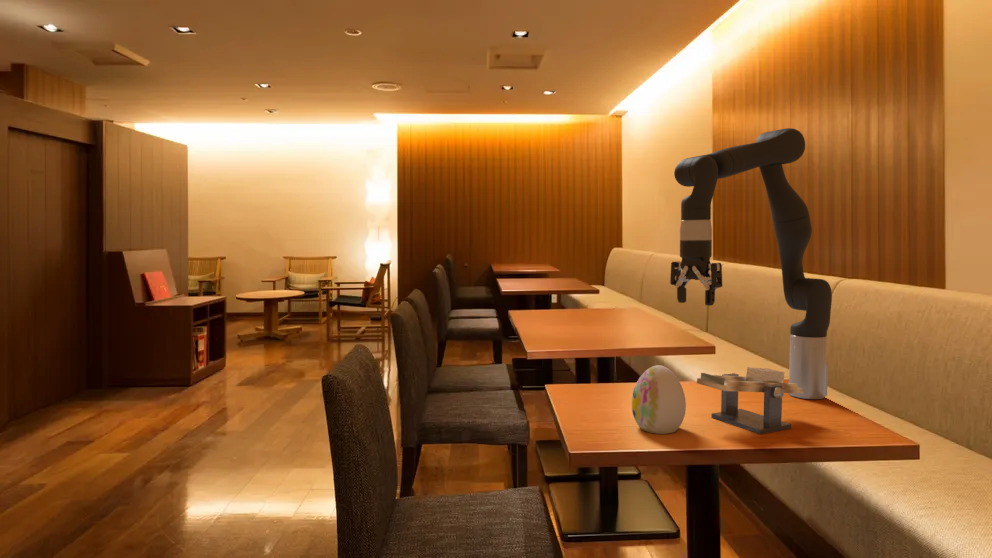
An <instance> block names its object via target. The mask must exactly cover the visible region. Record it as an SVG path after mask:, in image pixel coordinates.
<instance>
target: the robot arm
mask: <svg viewBox="0 0 992 558" xmlns="http://www.w3.org/2000/svg"><path fill="white" fill-rule="evenodd" d="M805 150H806V140H805V137H804V134H803V133H801V131H799V130H798V129H796V128H791V127H788V128H781V129H777V130H776V129H775V130H771V131H766V132H762V133H761V134H760V135H758V136H757V137H756V141H755V142H751V143H747V144H746V143H744V144H739V145H735V146H730V147H726V148H723V149H722V148H721V149H720V150H717V151H716V150H715V151H714V152H711V153H707V154H703V155H702V154H701V155H696V156H691V157H687V158H684V159H682V160H680V161H679V162H678V163H677V164H676V166H675V168H674V171H673V172H674V179H675V181H676V182H677V183H678V184H680V186H682V187H688V188H691V187H693V188H692V191H691V193H690V195H687V196H685V197H683V198H682V199H681V202H680V203H681V204H680V226H679V227H680V228H679V257H680V258H681V261H680V260H679V261H672V262H671V263H670V278H669V279H670V282H669V283H670V285H672V286H675V287H676V293H677V294H676V299H677V302H678V303H679V304H684V303H686V302H687V287H686V286H687V284H688V283H689V282H690V281H691V280H695V281H699V283H701V284H703V287H704V288H705V290H704V292H705V293H704V304H705V306H713V305H714V304H715V301H716V290H717V289H720V288H722V287H723V271H722V270H723V266H722V263H721V262H711V257H712V255H713V253H712V248H713V247H712V246H713V244H712V242H713V239H712V237H713V236H712V235H713V233H712V231H713V229H712V220H711V219H712V206H711V205H712V201H713V198H714V194H715V190H716V186H717V183H718V180H720V179H726V178H729V177H732V176H735V175H739V174H741V173H744V172H747V171H751V170H753V169H757V168H759V171H760V174H761V177H762V180H763V183H764V186H765V190H766V195H767V198H768V203H769V208H770V212H771V219H772V224H773V229H774V230H773V231H774V234H775V238H776V243H777V246H778V254H779V260H780V267H781V268H780V269H781V276H782V287H783V293H784V294H783V296H784V299H785V302H786V304H787V306H788V307H789V308H791V309H793V310H798V311H803V312H805V317H804V318H803V320H801V321H798V322H794V323H792V324H791V325H790V328H789V330H790V331H789V334H790V335H789V363H788V365H789V366H788V367H789V370H788V371H789V372H788V373H789V374H788V376H789V377H788V383H793V384H798V387H799V388H803V389H804V390H803V394H799V393H788V395H789V396H792V397H795V398H799V399H805V400H806V399H807V400H822V399H825V398H826V397H827V396H828V382H829V381H828V376H829V375H828V374H829V363H828V362H827V345H828V343H827V340H828V337H827V336H828V330H829V327H830V324H831V323H830V322H831V312H832V310H831V309H832V301H833V300H832V299H833V295H832V294H833V292H832V288H831V285H830V283H829V282H828V281H827V280H825V279H822V278H814V277H813V278H812V277H811V278H810V277H806V276H805V274H804V273H805V272H804V267H803V265H804V264H803V258H804V256H805V255H804V254H805V252H806V249H807V247H808V245H809V242H810V241H811V238H812V231H813V227H812V223H811V217H810V212H809V209H808V207H807V204H806V203H805V202H804V200H803V199H802V197H801V196H800V195H799V194H798V192H796V190H795V189H794V188H793V187H792V186H791V184H790V183H789V182H788V179H787V177H786V175H785V171H784V168H783V167H784V166H783V165H786V164H791V163H795V162H797V161H798V160H800V159H801V157H802V156H803V155H804V152H805Z"/></svg>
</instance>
